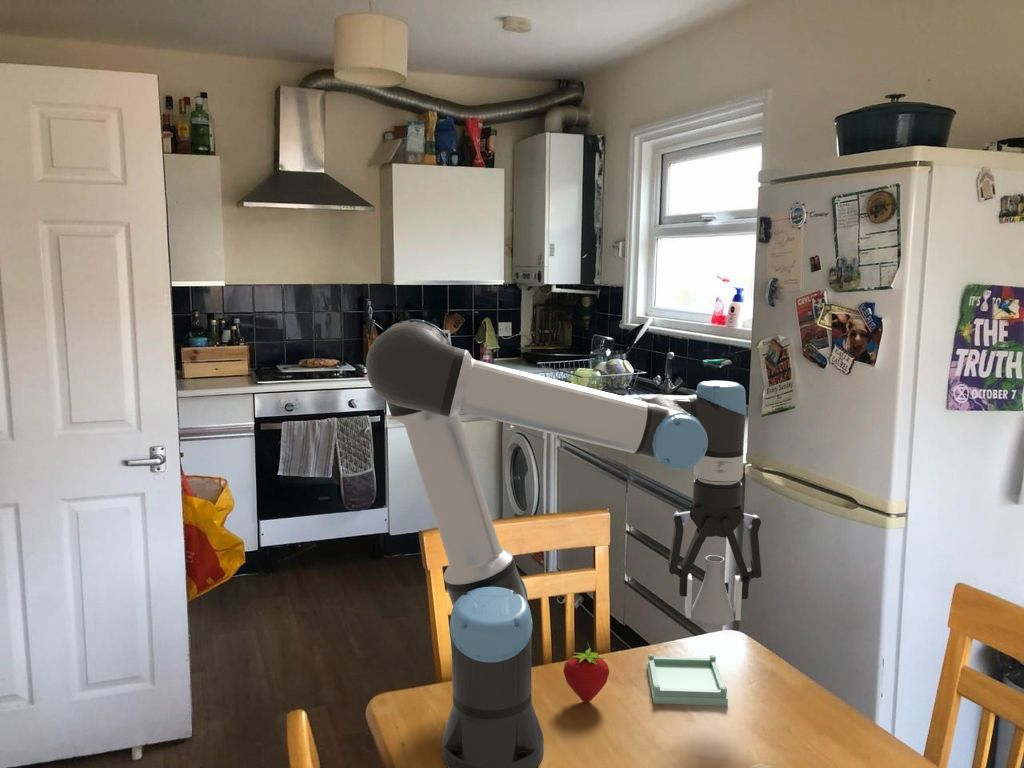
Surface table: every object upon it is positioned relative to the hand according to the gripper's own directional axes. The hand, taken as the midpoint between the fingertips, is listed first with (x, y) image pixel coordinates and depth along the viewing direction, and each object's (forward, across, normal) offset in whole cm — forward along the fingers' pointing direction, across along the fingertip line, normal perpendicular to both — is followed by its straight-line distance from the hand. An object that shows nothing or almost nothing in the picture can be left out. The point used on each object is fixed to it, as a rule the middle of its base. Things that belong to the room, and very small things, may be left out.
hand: (712, 615), depth 135 cm
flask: (0, 0, 0) cm, 0 cm away
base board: (+15, -3, +4) cm, 16 cm away
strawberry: (+15, -20, -3) cm, 25 cm away
